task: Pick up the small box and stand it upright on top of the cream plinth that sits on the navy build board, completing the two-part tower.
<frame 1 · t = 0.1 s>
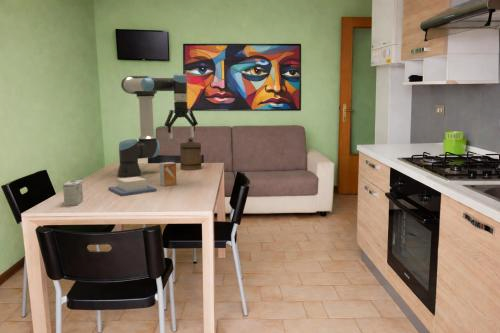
hand: (181, 137, 279), 28 cm above the table, tool pointing down, fingers open, 13 cm apart
wooden container: (191, 168, 341), on the table
build board: (132, 190, 267), on the table
small box: (168, 184, 283), on the table
light bulb box: (74, 203, 238), on the table
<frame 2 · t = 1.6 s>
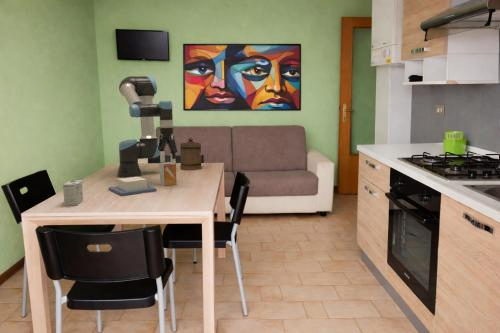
hand: (167, 163, 281), 13 cm above the table, tool pointing down, fingers open, 13 cm apart
nothing on the table moved.
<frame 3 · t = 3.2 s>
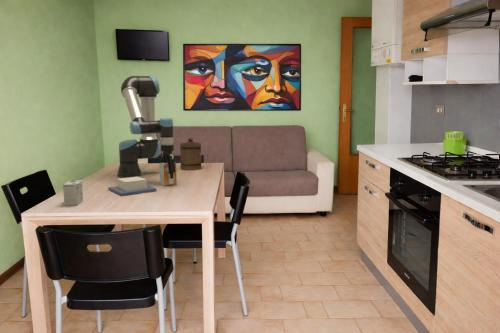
hand: (168, 182, 283), 1 cm above the table, tool pointing down, fingers closed on small box, 6 cm apart
small box: (168, 184, 283), on the table, touching gripper
everything else where it was.
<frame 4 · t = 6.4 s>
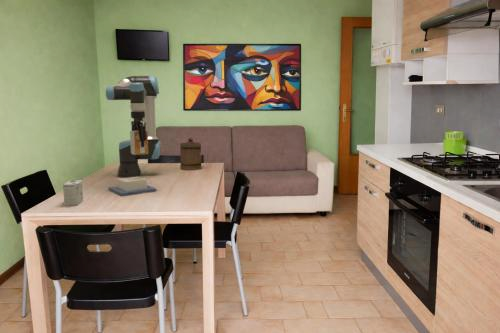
hand: (139, 152, 267), 21 cm above the table, tool pointing down, fingers closed on small box, 6 cm apart
small box: (139, 154, 267), point 20 cm above the table, touching gripper
everything else where it was.
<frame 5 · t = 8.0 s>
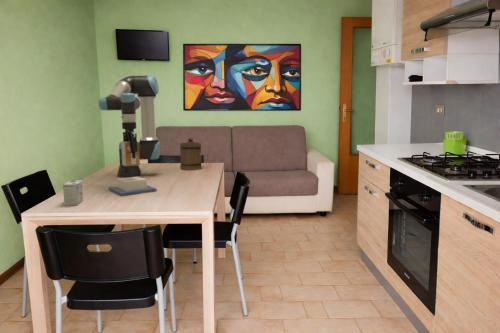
hand: (130, 163, 264), 15 cm above the table, tool pointing down, fingers closed on small box, 6 cm apart
small box: (131, 165, 264), point 14 cm above the table, touching gripper
everything else where it was.
when the fingers open (9 cm above the table, at t = 9.5 s): small box drops 1 cm, resting on build board.
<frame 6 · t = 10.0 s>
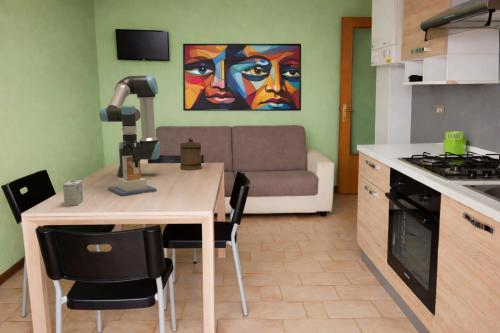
hand: (131, 171, 265), 11 cm above the table, tool pointing down, fingers open, 13 cm apart
small box: (132, 179, 265), point 6 cm above the table, touching build board
everything else where it was.
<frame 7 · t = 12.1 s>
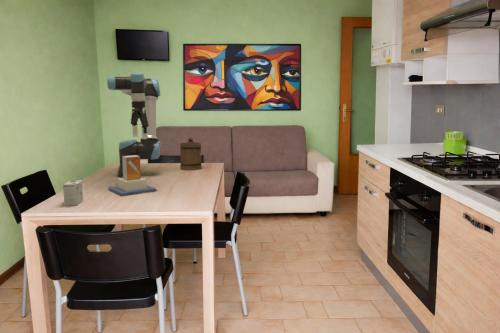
hand: (140, 137, 275), 28 cm above the table, tool pointing down, fingers open, 13 cm apart
nothing on the table moved.
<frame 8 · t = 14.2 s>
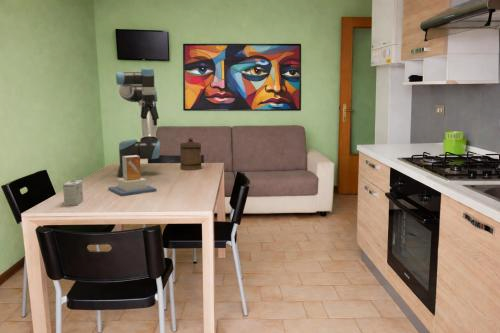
hand: (149, 130, 287), 32 cm above the table, tool pointing down, fingers open, 13 cm apart
nothing on the table moved.
at the end: small box inside the target area on the build board (0.2 cm from its centre), point 6.3 cm above the build board's base; small box tilted 0°; the gripper is holding nothing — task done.
